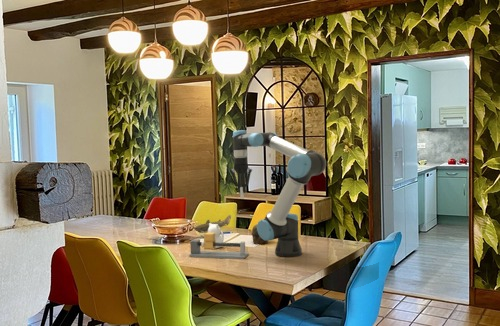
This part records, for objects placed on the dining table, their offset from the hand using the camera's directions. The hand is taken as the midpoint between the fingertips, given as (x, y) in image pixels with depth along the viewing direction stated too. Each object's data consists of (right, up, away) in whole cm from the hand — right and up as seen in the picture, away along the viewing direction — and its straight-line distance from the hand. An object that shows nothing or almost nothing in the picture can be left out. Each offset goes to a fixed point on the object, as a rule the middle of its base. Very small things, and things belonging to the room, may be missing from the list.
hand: (242, 198), depth 288 cm
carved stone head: (+11, -30, +25) cm, 41 cm away
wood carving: (-20, -29, +55) cm, 65 cm away
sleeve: (-18, -28, -4) cm, 34 cm away
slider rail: (-13, -32, -5) cm, 35 cm away
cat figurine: (-16, -31, +17) cm, 39 cm away
